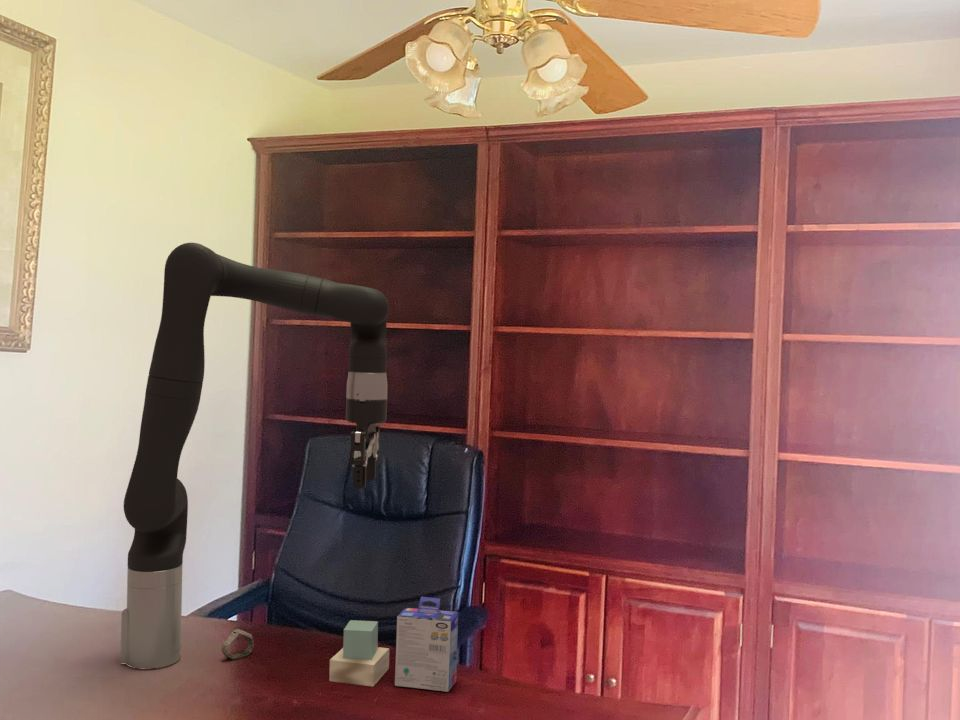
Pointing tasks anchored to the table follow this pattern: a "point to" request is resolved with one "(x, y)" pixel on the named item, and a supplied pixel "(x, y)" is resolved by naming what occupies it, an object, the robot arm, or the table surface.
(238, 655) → the wristwatch
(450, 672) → the ink cartridge box
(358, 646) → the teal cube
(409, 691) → the table surface
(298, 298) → the robot arm
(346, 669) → the ash block
